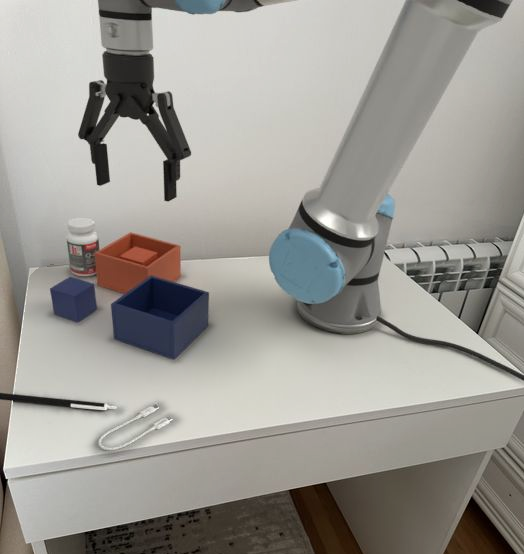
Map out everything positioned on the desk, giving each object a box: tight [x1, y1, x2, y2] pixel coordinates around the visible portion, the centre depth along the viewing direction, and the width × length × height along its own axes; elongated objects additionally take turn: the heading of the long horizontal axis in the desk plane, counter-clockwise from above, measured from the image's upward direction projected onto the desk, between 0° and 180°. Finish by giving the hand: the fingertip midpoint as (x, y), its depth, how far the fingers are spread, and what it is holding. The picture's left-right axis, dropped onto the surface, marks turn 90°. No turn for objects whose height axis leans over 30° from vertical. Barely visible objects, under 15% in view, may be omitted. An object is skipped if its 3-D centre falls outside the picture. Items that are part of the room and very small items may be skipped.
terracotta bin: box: [94, 231, 182, 295], centre depth 100 cm, size 11×11×7 cm
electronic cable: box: [98, 404, 174, 451], centre depth 70 cm, size 4×10×1 cm, turn 136°
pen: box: [0, 392, 117, 411], centre depth 72 cm, size 1×19×1 cm
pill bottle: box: [66, 217, 100, 277], centre depth 101 cm, size 6×6×10 cm
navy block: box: [49, 276, 98, 323], centre depth 90 cm, size 5×5×5 cm
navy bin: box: [110, 276, 210, 360], centre depth 87 cm, size 11×11×7 cm
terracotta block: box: [120, 247, 158, 267], centre depth 100 cm, size 5×5×5 cm
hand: (136, 191), depth 92 cm, fingers open, 13 cm apart
